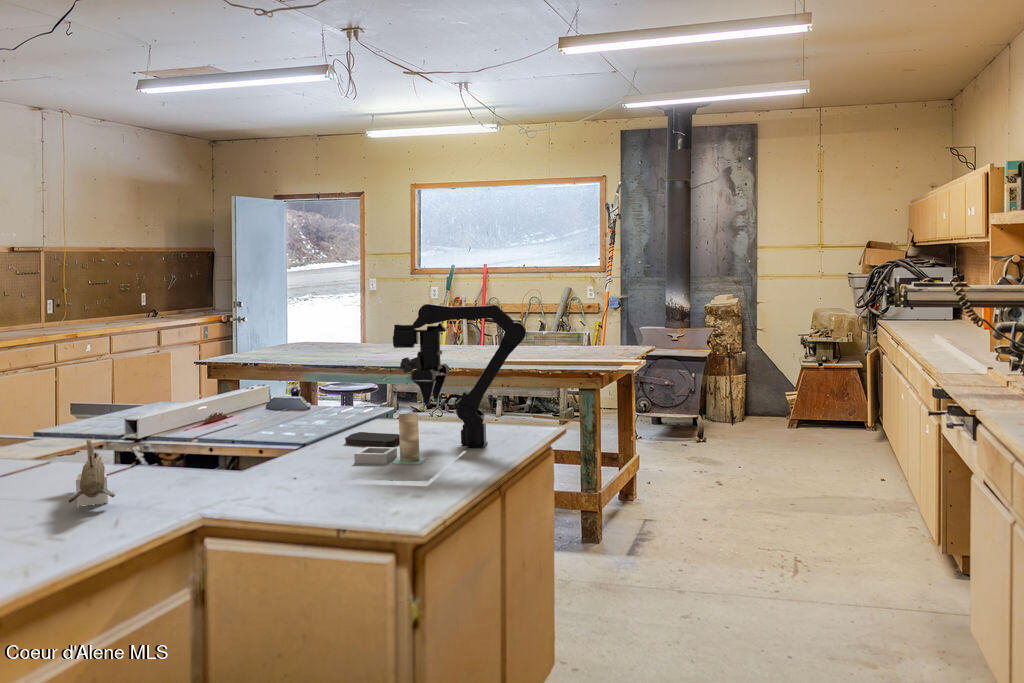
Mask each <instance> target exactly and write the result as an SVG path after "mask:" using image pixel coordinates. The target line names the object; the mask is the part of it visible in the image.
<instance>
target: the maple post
mask: <svg viewBox="0 0 1024 683" xmlns="http://www.w3.org/2000/svg"><path fill="white" fill-rule="evenodd" d="M398 431H399V432H398V434H399V439H400V445H399V457H400V461H401V462H417V461H419V457H420V436H419V434H420V433H419V432H420V431H419V414H418V413H414V412H412V413H411V412H409V413H408V412H407V413H400V414H398Z"/></svg>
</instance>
